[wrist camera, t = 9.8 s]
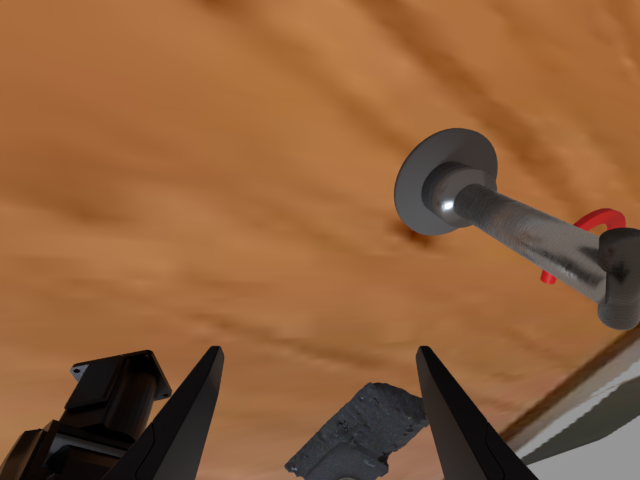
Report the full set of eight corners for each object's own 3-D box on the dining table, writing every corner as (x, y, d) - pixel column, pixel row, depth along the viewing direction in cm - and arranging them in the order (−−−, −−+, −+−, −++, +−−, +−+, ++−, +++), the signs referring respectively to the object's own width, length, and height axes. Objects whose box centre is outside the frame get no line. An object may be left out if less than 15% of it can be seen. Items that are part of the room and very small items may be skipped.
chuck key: (433, 230, 25) (589, 356, 14) (413, 177, 22) (589, 278, 11) (477, 204, 25) (678, 311, 13) (462, 147, 22) (702, 217, 10)
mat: (479, 225, 27) (484, 227, 26) (390, 239, 26) (393, 242, 25) (504, 123, 23) (510, 123, 22) (398, 133, 21) (401, 134, 21)
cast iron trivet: (445, 396, 41) (467, 430, 37) (353, 478, 47) (363, 515, 43) (370, 370, 35) (385, 408, 31) (274, 469, 41) (276, 512, 37)
